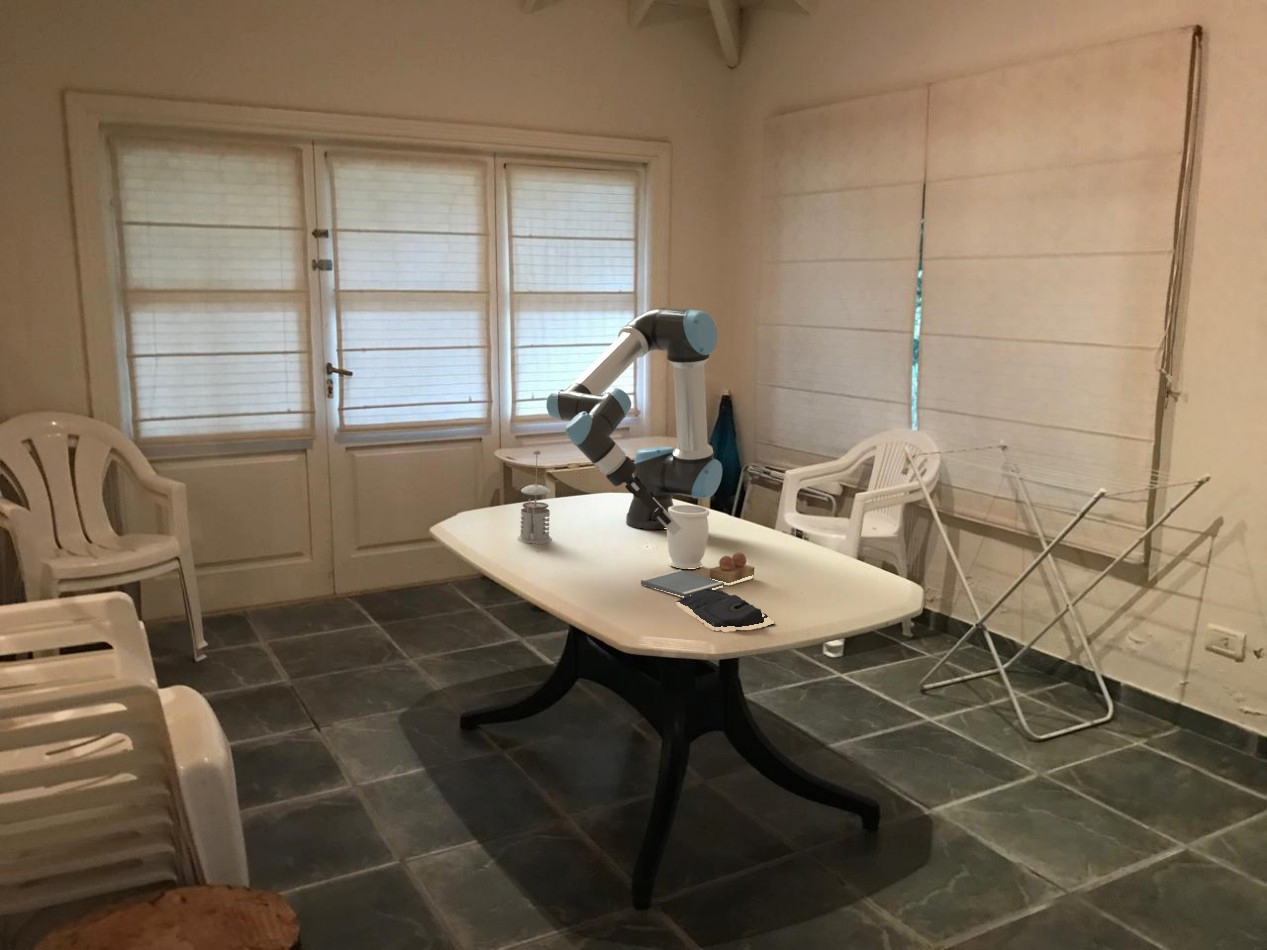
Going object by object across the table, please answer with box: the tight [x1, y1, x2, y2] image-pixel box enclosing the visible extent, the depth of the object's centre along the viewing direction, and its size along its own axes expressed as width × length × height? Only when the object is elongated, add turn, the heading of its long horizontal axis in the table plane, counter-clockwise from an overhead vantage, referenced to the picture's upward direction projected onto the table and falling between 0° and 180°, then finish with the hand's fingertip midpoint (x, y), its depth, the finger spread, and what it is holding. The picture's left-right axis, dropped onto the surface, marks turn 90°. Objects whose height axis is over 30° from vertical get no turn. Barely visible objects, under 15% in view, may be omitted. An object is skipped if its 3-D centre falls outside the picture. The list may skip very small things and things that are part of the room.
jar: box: [666, 504, 710, 569], centre depth 259 cm, size 11×10×15 cm
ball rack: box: [709, 552, 755, 583], centre depth 250 cm, size 10×6×6 cm, turn 136°
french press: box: [517, 449, 553, 545], centre depth 277 cm, size 10×12×25 cm
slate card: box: [640, 569, 725, 597], centre depth 243 cm, size 14×14×1 cm
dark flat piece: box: [676, 589, 769, 627], centre depth 224 cm, size 15×22×5 cm
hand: (671, 525), depth 257 cm, fingers open, 13 cm apart
